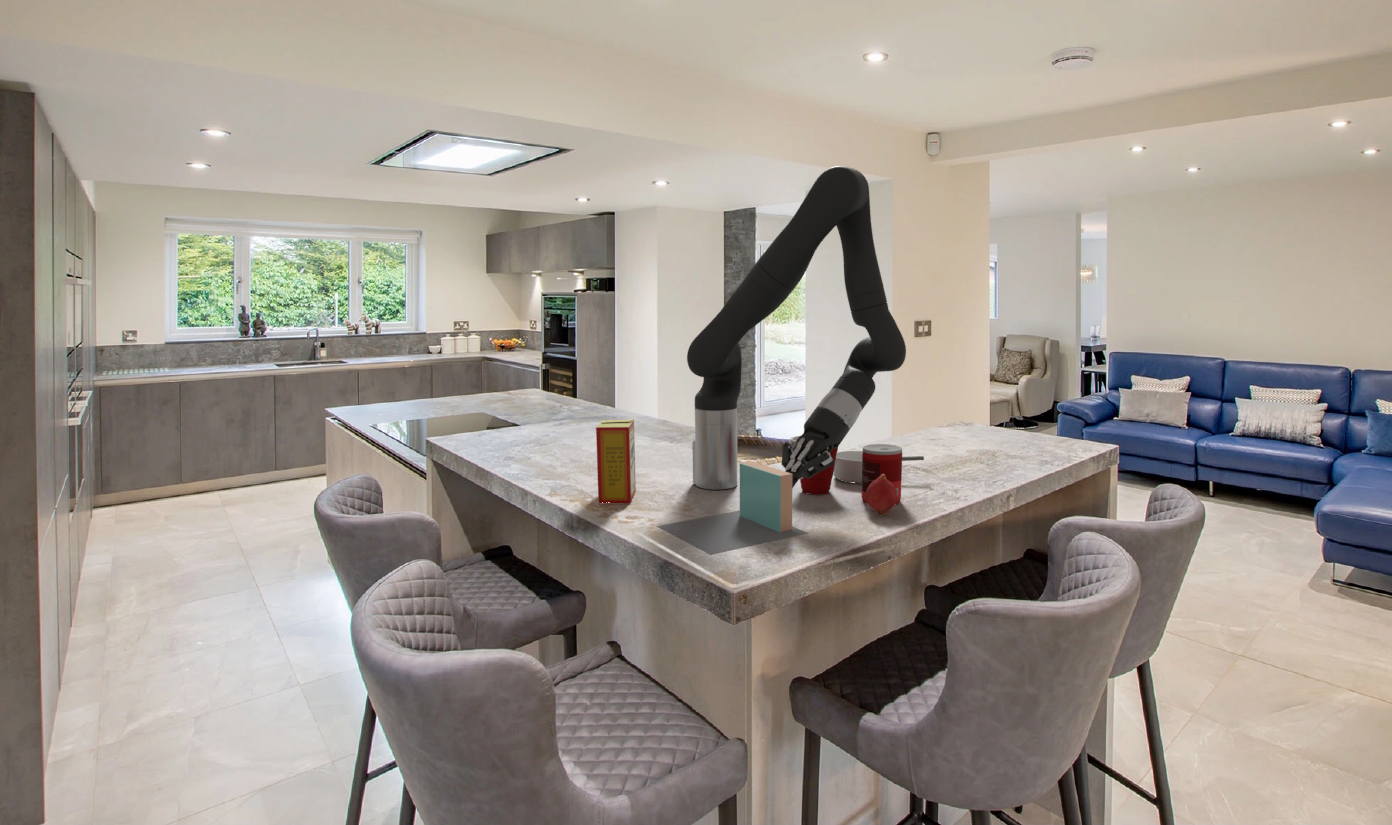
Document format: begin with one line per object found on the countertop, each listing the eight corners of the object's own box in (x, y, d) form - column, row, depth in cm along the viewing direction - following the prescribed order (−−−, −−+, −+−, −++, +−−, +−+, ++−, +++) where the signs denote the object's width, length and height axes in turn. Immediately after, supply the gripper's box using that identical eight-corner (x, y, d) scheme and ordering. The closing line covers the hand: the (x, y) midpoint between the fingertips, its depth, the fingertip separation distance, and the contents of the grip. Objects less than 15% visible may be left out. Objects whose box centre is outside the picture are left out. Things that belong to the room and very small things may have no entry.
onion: (858, 514, 141) (859, 473, 140) (877, 509, 145) (878, 468, 144) (884, 521, 137) (885, 478, 136) (903, 515, 140) (904, 473, 139)
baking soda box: (630, 503, 151) (628, 425, 149) (598, 503, 151) (596, 425, 149) (635, 491, 160) (633, 417, 158) (605, 491, 160) (603, 418, 158)
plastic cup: (811, 482, 166) (812, 429, 164) (851, 491, 158) (852, 435, 156) (778, 491, 159) (778, 435, 157) (818, 501, 151) (819, 442, 149)
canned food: (903, 498, 152) (905, 445, 151) (896, 508, 145) (898, 452, 144) (866, 494, 156) (867, 442, 154) (857, 504, 148) (858, 449, 147)
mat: (656, 528, 134) (656, 525, 134) (748, 511, 144) (748, 508, 144) (710, 557, 119) (710, 554, 119) (808, 535, 129) (808, 532, 129)
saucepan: (926, 487, 161) (927, 462, 160) (832, 485, 164) (832, 460, 163) (919, 475, 172) (920, 451, 172) (831, 473, 175) (831, 449, 175)
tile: (739, 515, 140) (739, 463, 138) (752, 513, 141) (751, 461, 140) (779, 532, 130) (779, 476, 128) (792, 529, 131) (792, 473, 130)
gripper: (799, 401, 145) (748, 471, 140) (847, 409, 134) (792, 486, 129) (820, 425, 148) (770, 494, 144) (868, 436, 137) (816, 511, 133)
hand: (781, 490), depth 137 cm, fingers closed
